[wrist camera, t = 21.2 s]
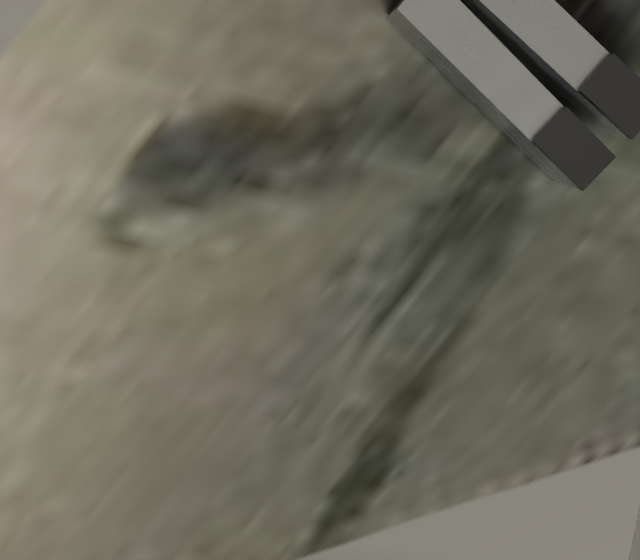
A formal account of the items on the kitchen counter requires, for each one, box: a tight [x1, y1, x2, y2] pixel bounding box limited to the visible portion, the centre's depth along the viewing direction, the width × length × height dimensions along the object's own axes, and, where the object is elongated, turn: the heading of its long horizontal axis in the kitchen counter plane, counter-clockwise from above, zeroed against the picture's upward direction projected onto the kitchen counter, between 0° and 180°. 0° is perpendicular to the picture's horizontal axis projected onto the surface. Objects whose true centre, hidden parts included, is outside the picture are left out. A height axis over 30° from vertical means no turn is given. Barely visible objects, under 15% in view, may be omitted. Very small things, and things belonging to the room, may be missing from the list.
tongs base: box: [460, 0, 640, 139], centre depth 32 cm, size 4×18×5 cm, turn 52°
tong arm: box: [386, 0, 616, 190], centre depth 34 cm, size 2×14×4 cm, turn 49°
